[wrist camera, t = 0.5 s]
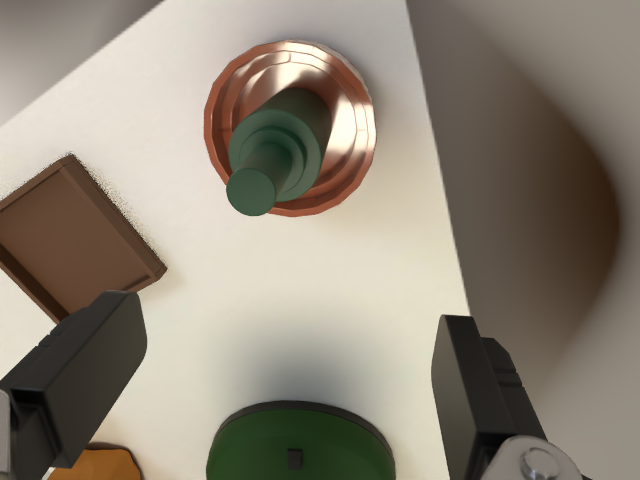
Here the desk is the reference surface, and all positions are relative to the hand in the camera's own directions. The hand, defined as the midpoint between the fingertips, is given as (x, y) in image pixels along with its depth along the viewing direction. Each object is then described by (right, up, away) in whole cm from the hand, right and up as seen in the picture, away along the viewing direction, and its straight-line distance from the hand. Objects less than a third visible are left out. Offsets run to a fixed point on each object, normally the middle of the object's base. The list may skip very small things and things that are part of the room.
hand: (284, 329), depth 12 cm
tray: (-23, +2, +31) cm, 38 cm away
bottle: (-1, +12, +23) cm, 26 cm away
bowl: (-1, +12, +24) cm, 26 cm away
